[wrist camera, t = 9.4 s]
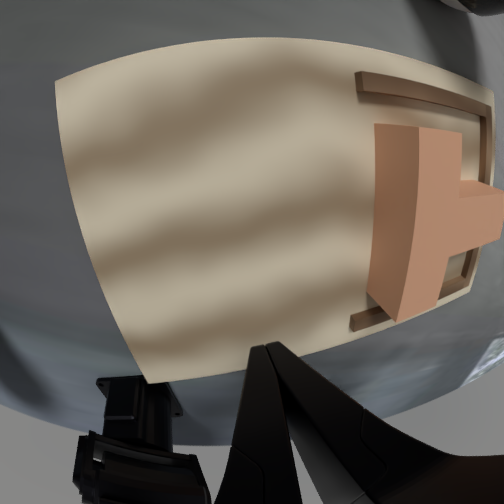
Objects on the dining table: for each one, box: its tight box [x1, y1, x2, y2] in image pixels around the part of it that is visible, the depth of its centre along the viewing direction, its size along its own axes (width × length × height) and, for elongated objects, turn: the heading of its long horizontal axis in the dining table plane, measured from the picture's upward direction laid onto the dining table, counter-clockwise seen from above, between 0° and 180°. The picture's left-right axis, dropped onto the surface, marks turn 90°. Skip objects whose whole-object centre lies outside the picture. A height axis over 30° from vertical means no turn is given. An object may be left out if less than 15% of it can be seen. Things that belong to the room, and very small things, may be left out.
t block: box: [366, 123, 504, 323], centre depth 16 cm, size 12×12×4 cm
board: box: [55, 38, 495, 384], centre depth 17 cm, size 22×34×2 cm, turn 96°
